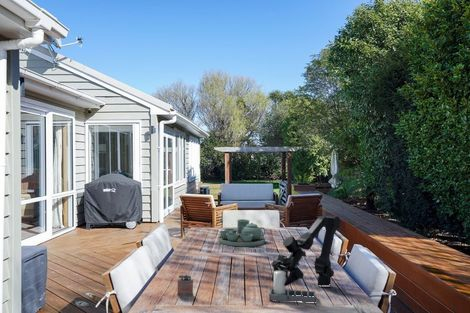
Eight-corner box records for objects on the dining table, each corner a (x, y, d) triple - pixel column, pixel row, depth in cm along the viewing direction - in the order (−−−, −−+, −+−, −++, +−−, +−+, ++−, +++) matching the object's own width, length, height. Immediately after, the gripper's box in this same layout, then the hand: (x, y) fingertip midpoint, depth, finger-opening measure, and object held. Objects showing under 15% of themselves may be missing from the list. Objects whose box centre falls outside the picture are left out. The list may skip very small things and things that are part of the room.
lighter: (193, 293, 201) (193, 274, 201) (192, 295, 197) (193, 276, 197) (177, 293, 200) (177, 273, 200) (176, 295, 197) (177, 275, 197)
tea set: (211, 239, 341) (211, 220, 341) (251, 236, 359) (251, 218, 359) (230, 248, 305) (230, 227, 306) (274, 245, 323) (274, 225, 323)
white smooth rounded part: (282, 295, 200) (282, 270, 200) (287, 299, 194) (287, 273, 195) (271, 296, 199) (272, 270, 199) (276, 300, 193) (276, 274, 193)
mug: (273, 274, 238) (273, 257, 239) (288, 274, 238) (288, 258, 238) (273, 280, 226) (274, 262, 227) (289, 280, 226) (289, 263, 226)
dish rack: (315, 297, 199) (315, 290, 199) (316, 304, 189) (316, 296, 189) (270, 294, 202) (270, 287, 202) (269, 300, 192) (269, 293, 192)
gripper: (274, 245, 207) (257, 269, 200) (300, 252, 192) (283, 278, 185) (284, 258, 212) (269, 281, 205) (310, 265, 197) (294, 292, 190)
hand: (278, 283), depth 196 cm, fingers open, 9 cm apart
